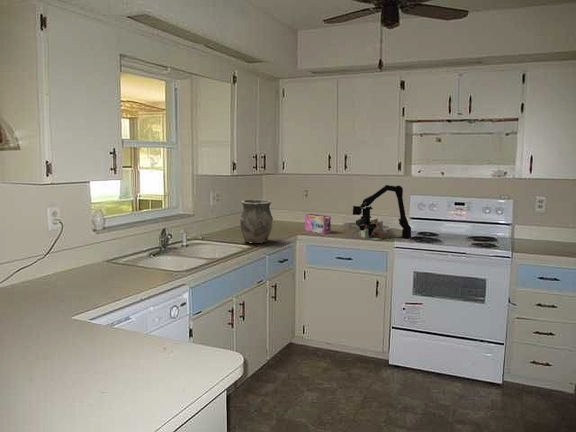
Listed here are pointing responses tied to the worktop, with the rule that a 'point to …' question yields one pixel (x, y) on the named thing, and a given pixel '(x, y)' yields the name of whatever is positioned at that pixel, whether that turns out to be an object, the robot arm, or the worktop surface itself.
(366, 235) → the sage cube
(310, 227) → the gum box
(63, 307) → the worktop surface
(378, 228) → the stack of blocks
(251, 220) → the clay pot
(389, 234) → the grey cube
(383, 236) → the walnut base block
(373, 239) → the slate card
